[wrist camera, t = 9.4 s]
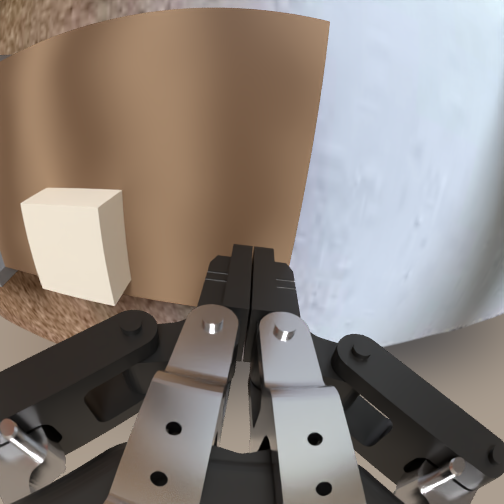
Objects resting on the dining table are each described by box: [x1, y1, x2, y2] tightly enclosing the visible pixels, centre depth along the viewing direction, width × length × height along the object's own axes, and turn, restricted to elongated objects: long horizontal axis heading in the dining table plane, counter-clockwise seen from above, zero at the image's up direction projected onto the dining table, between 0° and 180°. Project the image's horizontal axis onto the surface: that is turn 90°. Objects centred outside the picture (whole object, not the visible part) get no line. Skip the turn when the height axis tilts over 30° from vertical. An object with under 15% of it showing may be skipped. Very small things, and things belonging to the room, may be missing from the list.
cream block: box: [20, 188, 131, 306], centre depth 10 cm, size 4×4×2 cm
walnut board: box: [0, 8, 330, 307], centre depth 11 cm, size 18×13×4 cm
